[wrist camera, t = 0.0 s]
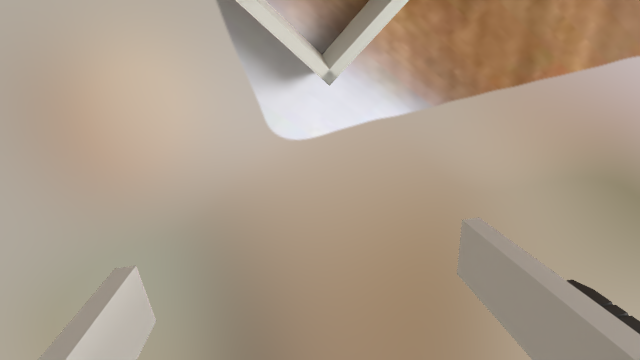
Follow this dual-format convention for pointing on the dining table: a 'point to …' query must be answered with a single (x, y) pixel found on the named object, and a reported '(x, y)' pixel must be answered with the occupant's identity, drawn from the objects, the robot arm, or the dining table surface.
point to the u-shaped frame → (345, 46)
